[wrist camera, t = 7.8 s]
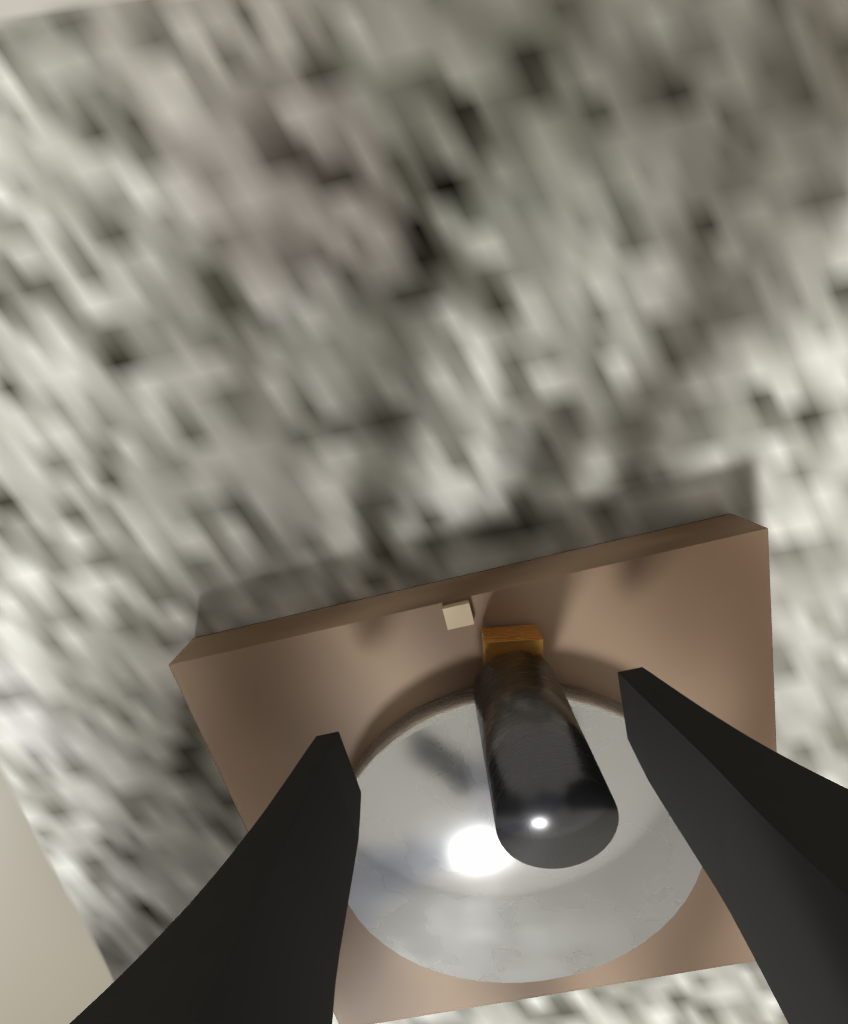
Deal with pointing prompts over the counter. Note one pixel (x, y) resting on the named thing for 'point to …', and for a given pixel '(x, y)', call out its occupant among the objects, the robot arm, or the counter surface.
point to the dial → (514, 828)
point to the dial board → (453, 666)
